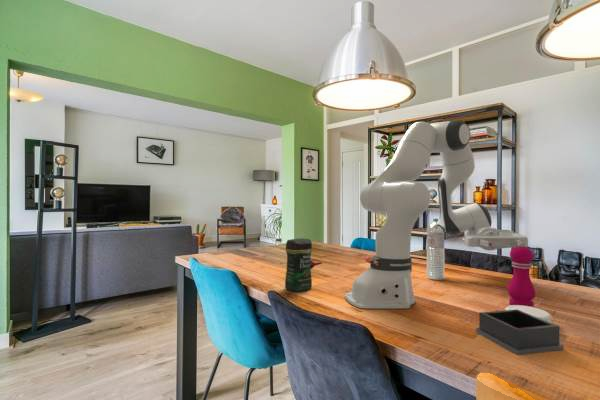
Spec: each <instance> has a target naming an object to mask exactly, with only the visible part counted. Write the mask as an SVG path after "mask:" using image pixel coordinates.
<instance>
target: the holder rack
mask: <svg viewBox="0 0 600 400" xmlns="http://www.w3.org/2000/svg"><path fill="white" fill-rule="evenodd" d="M478 318H479V320H478V321H479V322H478V323H479V324H478V326H479V327H475V332H476V333H477V334H479V335H481V336H482V337H484V338H486V339H488V340H490V341H492V342H493V343H495V344H497V345H499V346H501V347H503V348H504V349H506V350H508V351H510V352H511V353H514V354H515V355H517V356H519V355H528V354H537V353H546V352H555V351H563V350H564V348H565V347H564V344H561V342H560V328H561V327H560V326H559V325H557V324H554V323H552V322H551V323H550V322H547V321H545V320H542V319H540V318H537V317H534V316H532V315H529V314H527V313H524V312H522V311H519V310H494V311H482V312H479V316H478Z"/></svg>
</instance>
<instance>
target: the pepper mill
mask: <svg viewBox="0 0 600 400" xmlns="http://www.w3.org/2000/svg"><path fill="white" fill-rule="evenodd" d="M518 246H519V247H512V248H511V250H510V252H509V258H510V259H511V260H512V262H511V267H512V268H513V273H512V274H513V275H512V277H511V279H510V282H509V283H508V286H507V290H506V291H507V293H508V295H509V298H508V299H509V300H508V301H509V303H508V304H509V306H510V305H523V306H530V307H534V308H535V302H534V301H533V299H535V298H536V295H537V294H536V289H535V286H534V284H533V282H532V281H531V275H530V269H532V266H531V265H532V263H531V262H532V261H533V260H534V253H533V251H532V249H530V248H528V247H524V246H525V243H524V242H519V243H518Z"/></svg>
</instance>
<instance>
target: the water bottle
mask: <svg viewBox="0 0 600 400" xmlns="http://www.w3.org/2000/svg"><path fill="white" fill-rule="evenodd" d="M444 230H445V229H444V227H443V226H442V225H441V224H440V222H439V218H433V222H431V223H430V224H429V225H428V226H427V227H426V278H427V279H429V280H432V281H443V280H444V279H445V266H446V265H445V263H446V262H445V261H446V259H445V252H446V251H445V233H444V232H445V231H444Z"/></svg>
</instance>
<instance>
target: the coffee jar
mask: <svg viewBox="0 0 600 400" xmlns="http://www.w3.org/2000/svg"><path fill="white" fill-rule="evenodd" d="M285 244H286V245H285V253H286V272H285V282H284V286H285V289H286V290H287V291H289V292H291V291H292V292H303V291H304V292H305V291H308V290H311V289H312V283H313V282H312V280H313V279H312V272H311V271H312V269H311V266H310V260H311V256H312V251H313V245H312V244H313V243H312V240H311V239H309V238H292V239H287V241H286V243H285Z"/></svg>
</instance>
